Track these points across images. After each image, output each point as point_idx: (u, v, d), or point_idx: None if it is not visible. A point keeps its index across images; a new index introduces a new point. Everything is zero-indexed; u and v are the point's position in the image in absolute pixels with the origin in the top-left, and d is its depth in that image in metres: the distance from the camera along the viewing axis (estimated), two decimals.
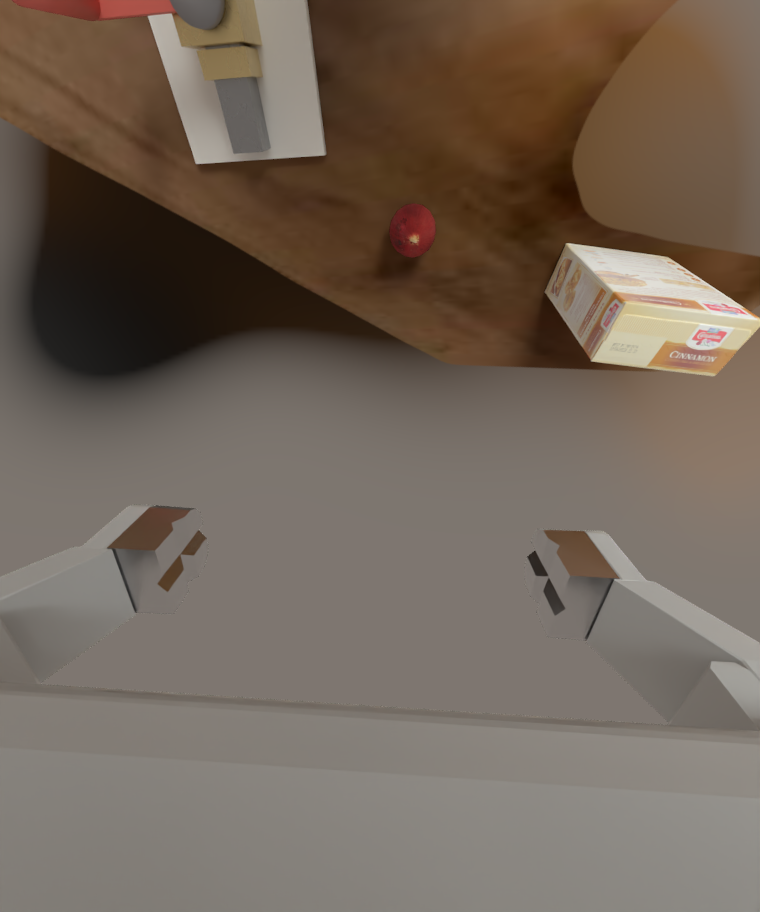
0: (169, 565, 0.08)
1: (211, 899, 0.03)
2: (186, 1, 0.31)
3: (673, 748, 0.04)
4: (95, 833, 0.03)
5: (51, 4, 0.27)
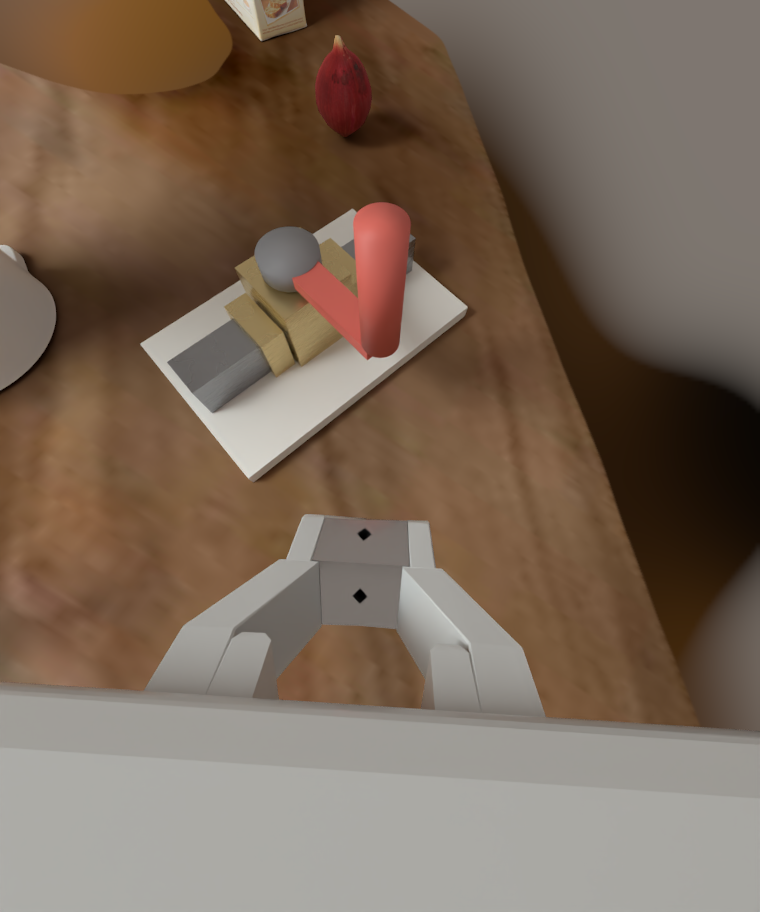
0: None
1: (211, 899, 0.03)
2: (301, 251, 0.25)
3: (673, 749, 0.04)
4: (95, 833, 0.03)
5: None
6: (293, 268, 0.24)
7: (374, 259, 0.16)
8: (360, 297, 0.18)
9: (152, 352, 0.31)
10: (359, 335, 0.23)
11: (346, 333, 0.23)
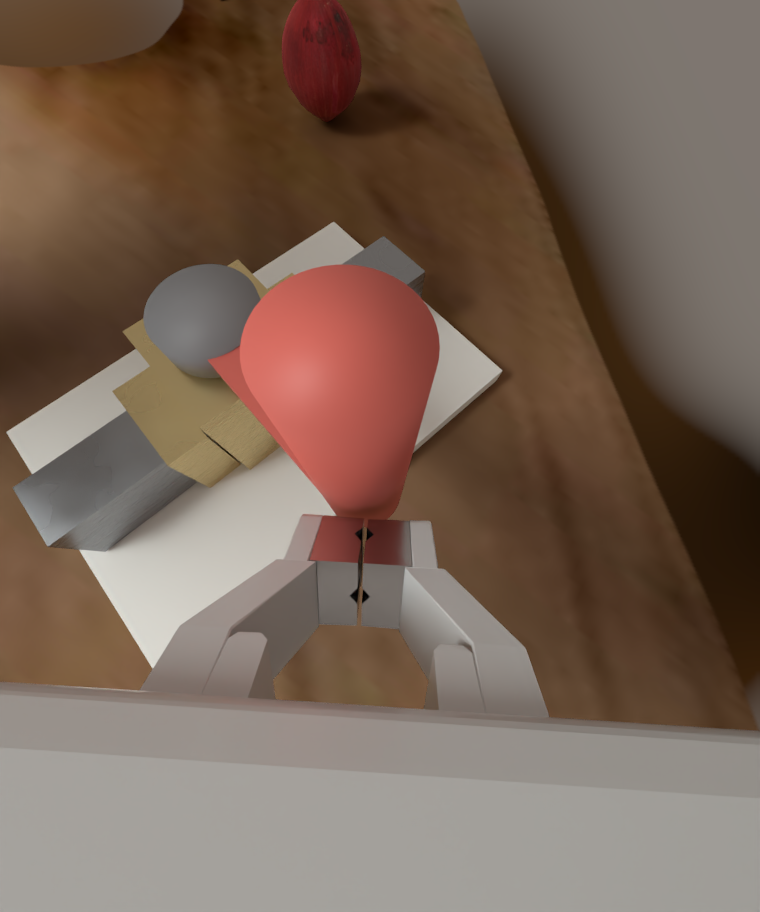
0: None
1: (210, 900, 0.03)
2: (227, 310, 0.14)
3: (673, 748, 0.04)
4: (95, 833, 0.03)
5: None
6: (210, 342, 0.14)
7: (318, 452, 0.05)
8: None
9: (23, 445, 0.20)
10: None
11: (301, 470, 0.12)
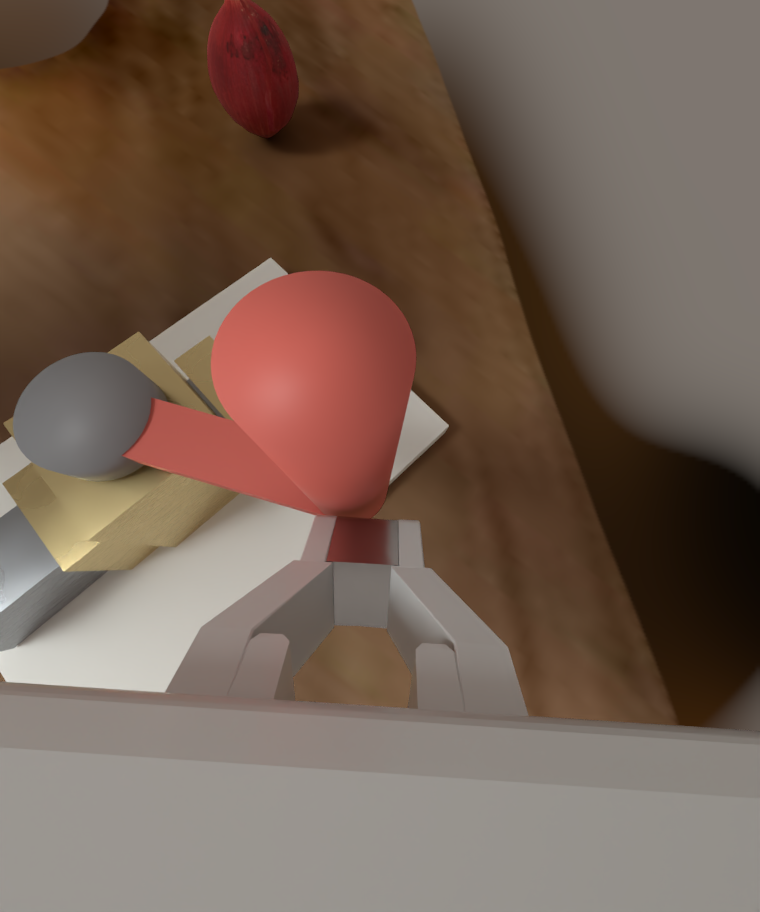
0: None
1: (211, 900, 0.03)
2: (110, 396, 0.12)
3: (673, 748, 0.04)
4: (95, 833, 0.03)
5: None
6: (113, 437, 0.12)
7: (345, 464, 0.05)
8: (310, 495, 0.07)
9: None
10: None
11: (283, 504, 0.12)
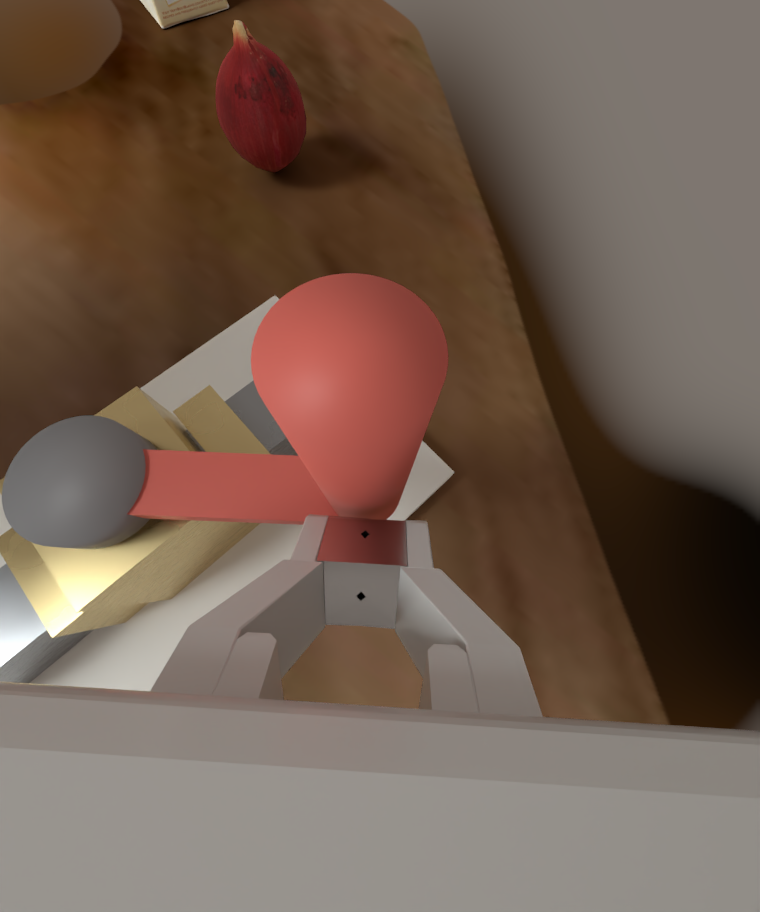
0: None
1: (210, 902, 0.03)
2: (101, 458, 0.12)
3: (674, 749, 0.04)
4: (95, 833, 0.03)
5: None
6: (114, 497, 0.12)
7: (398, 451, 0.05)
8: (345, 500, 0.08)
9: None
10: (327, 508, 0.12)
11: (302, 521, 0.12)
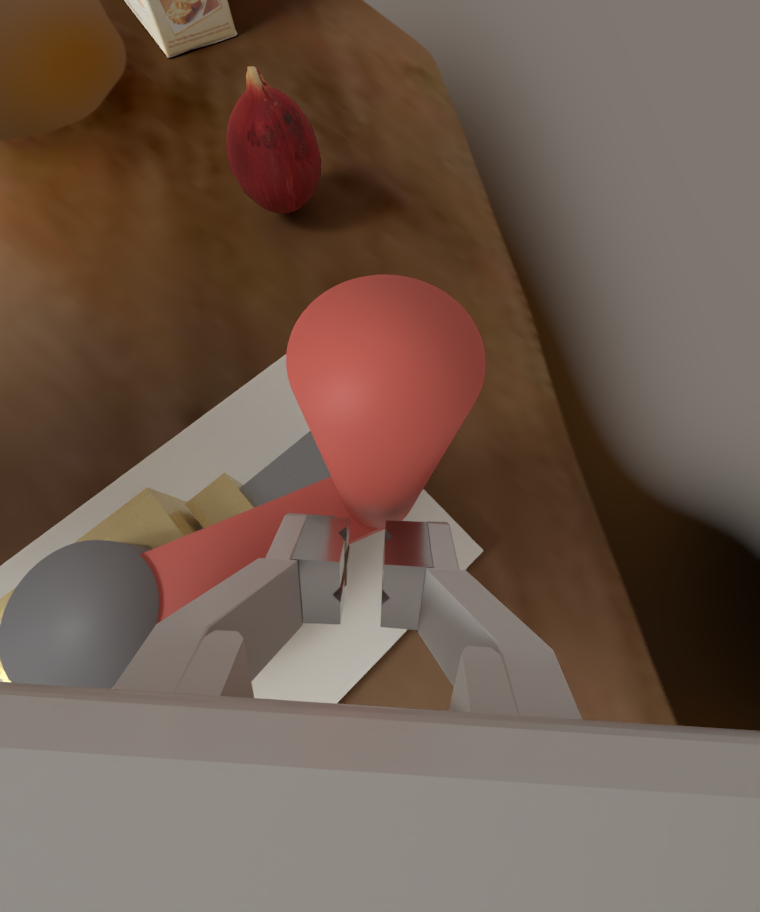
0: None
1: (209, 900, 0.03)
2: (99, 583, 0.11)
3: (674, 749, 0.04)
4: (95, 833, 0.03)
5: None
6: (134, 615, 0.11)
7: (458, 429, 0.05)
8: (392, 503, 0.07)
9: None
10: (352, 524, 0.12)
11: None
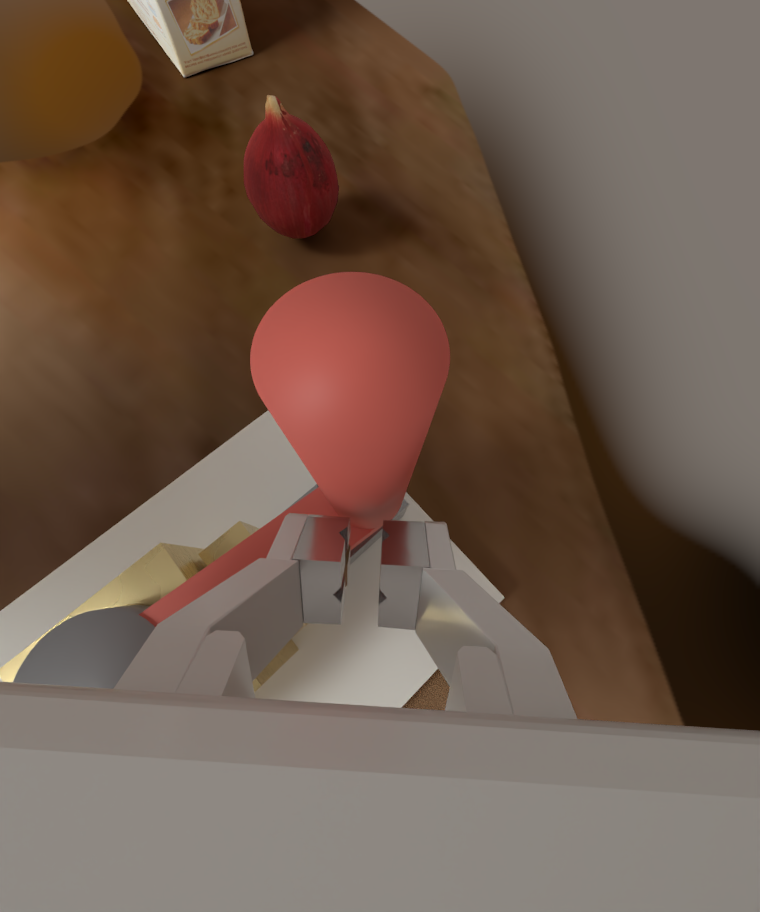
0: None
1: (210, 902, 0.03)
2: (102, 655, 0.10)
3: (673, 749, 0.04)
4: (95, 833, 0.03)
5: None
6: None
7: None
8: (385, 498, 0.07)
9: None
10: None
11: None
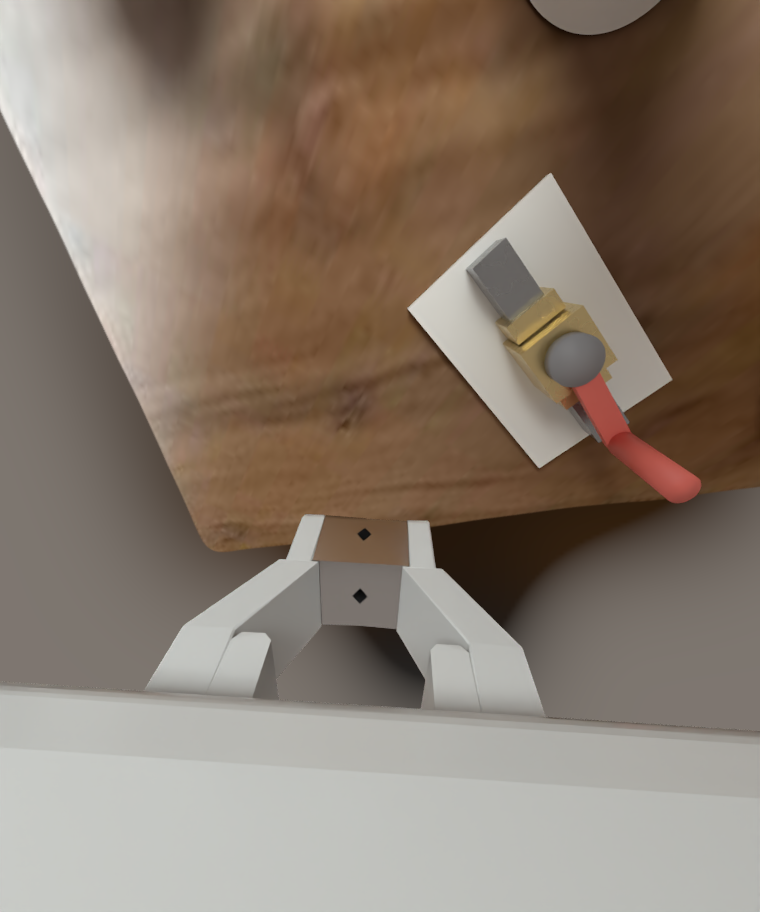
0: None
1: (210, 900, 0.03)
2: (589, 363, 0.30)
3: (674, 749, 0.04)
4: (95, 833, 0.03)
5: (675, 463, 0.28)
6: (578, 380, 0.31)
7: None
8: (636, 471, 0.30)
9: (538, 190, 0.32)
10: (609, 438, 0.34)
11: (600, 433, 0.34)
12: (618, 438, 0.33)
